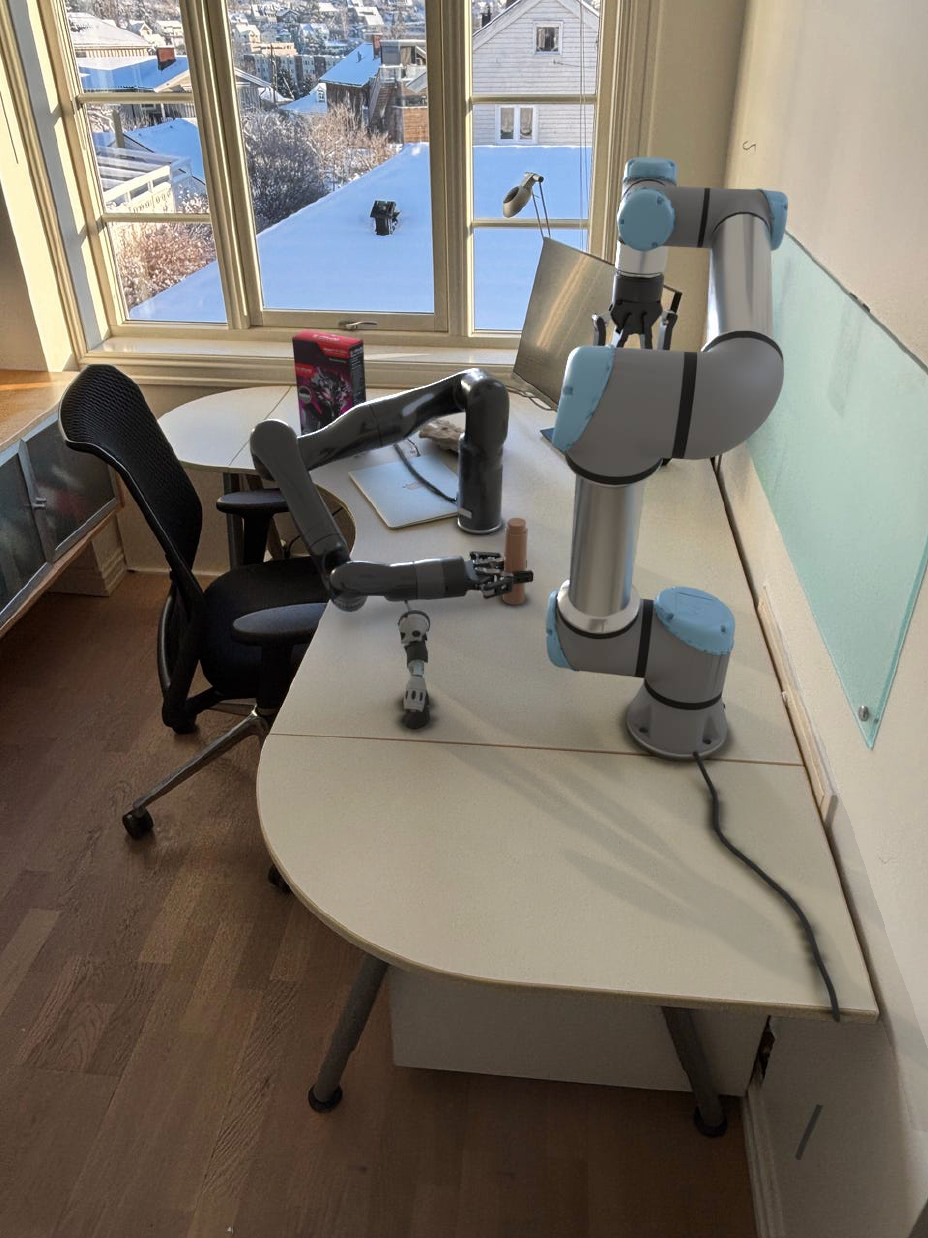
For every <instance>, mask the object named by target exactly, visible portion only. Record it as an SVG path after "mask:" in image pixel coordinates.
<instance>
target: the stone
mask: <svg viewBox="0 0 928 1238" xmlns="http://www.w3.org/2000/svg"><path fill="white" fill-rule="evenodd" d="M464 432H465V429H463V428H462V427H459V426H456V425H455V424H454V423H451V422H450V421H449V420H443V419H440V418H439V419H436V420H434V421H432V422H430V423H429V424H427V425H426V426H424V427H423V428H422V429H421V430H419V431H418V437H419V439H430V440H431V441H432V443H433V444H436V445H438V446H439V447H440V449H443V450H446V451H448V450H451V451H453V452H456V453H458V454H459V438H460V436H461V435H462V434H463V433H464Z"/></svg>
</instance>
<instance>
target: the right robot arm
mask: <svg viewBox="0 0 928 1238" xmlns="http://www.w3.org/2000/svg"><path fill="white" fill-rule="evenodd" d="M677 175H678V165H677V162H675V161H674V160H673V159H670V158H665V157H657V156H656V157H654V156H640V157H633V158H631V159H629V160H628V161H626V163H625V166H624V174H623V179H622V192H621V198H620V203H619V205H618V208H617V215H616V226H617V229H618V236H617V245H616V256H615V265H614V266H615V269H616V270H617V271H616V272H615V273H614V274H613V275H614V276H613V287H612V297H611V298H612V300H611V303H610V305H609V306H608V309H607V310H606V311H604V312H602V313H599V314H598V313H596V312H595V313H593V314H592V315H591V321H592V325H593V339H592V340H593V341H592V345H581V346H578V347H576V348H574V349H573V350H571V352H570V354H569V355H568V358H567V362H566V365H565V371H564V376H563V380H562V385H561V391H560V397H559V401H558V406H557V411H556V417H555V421H554V426H553V432H552V438H551V446H552V447H553V448H554V449H558V450H559V451H562V452H563V453H564V454H563V455H564V458H565V462H566V464H567V466H568V468H569V469H570V470H571V471H572V472H573V474H575V481H574V496H573V497H574V500H573V515H572V530H571V531H572V532H571V547H570V564H569V578H568V579H566V580H565V581H564V582H563V584H562V585H561V586H560V589H555V590H553V591H551V593H550V596H549V598H548V601H547V606H546V615H545V629H546V630H545V632H546V633H545V645H546V652H547V656H548V659H549V661H550V663H551V664H552V665H553V666H554V667H557V668H560V669H566V670H570V671H573V672H577V673H578V672H583V673H585V672H586V673H593V674H595V673H596V674H603V675H612V676H613V675H614V676H621V677H629V678H638V679H643V682H642V684H641V685H640V688H639V689H638V691H637V692H636V694H635V695H634V697H633V699H632V701H631V702H630V704H629V706H628V708H627V711H626V719H625V728H626V732H627V734H628V736H629V738H630V739H631V741H632V742H634V744H636V745H637V746H638V747H639V748H640V749H641V750H643V751H645V752H646V753H648V754H650V755H651V756H654V757H656V758H659V759H662V760H666V761H670V762H675V763H694V762H696V763H697V766H698V768H699V770H700V773H701V775H702V777H703V779H704V781H705V783H706V785H707V787H708V789H709V792H710V794H711V797H712V798H711V799H712V826H713V829H714V831H715V834H716V835H717V838H718V839H719V840H720V841H721V843H722V844H723V845H724V846H725V848H726V849H728V851H730V852H731V853H732V854H733V855H734V856H736V857H737V858H739V860H741V861H742V862H743V863H744V864H745V865H747V866H748V867H749V868H750V869H751V870H752V871H753V872H754V873H756V875H758V877H760V878H761V879H762V880H763V881H764V882H766V883H767V885H768V886H770V887H771V888H772V889H773V890H775V892H777V893H778V894H779V895H780V897H782V898H783V899H784V900H785V901H786V902H787V903H788V904H789V905H790V907H791V908H792V909H793V912H795V913H796V915H797V917H798V918H799V920H800V921H801V923H802V926H803V927H804V930H805V933H806V935H807V939H808V942H809V945H810V948H811V951H812V955H813V958H814V960H815V962H816V966H817V969H818V970H819V972H820V974H821V977H822V979H823V982H824V984H825V986H826V990H827V992H828V996H829V1000H830V1004H831V1005H830V1006H831V1011H832V1018H833V1020H834V1022H836V1023H840V1022H841V1013H840V1006H839V1001H838V997H837V993H836V989H835V987H834V984H833V981H832V979H831V977H830V975H829V972H828V971H827V968H826V966H825V963H824V962H823V959H822V956H821V954H820V951H819V948H818V943H817V940H816V938H815V934H814V932H813V929H812V926H811V925H810V923H809V921H808V918H807V916H806V914H805V913H804V911H803V910H802V908H801V907H800V906H799V905H798V904H797V902H796V901H795V900H794V899H793V897H792V896H790V894H789V893H788V892H787V891H786V890H785V889H783V888H782V886H781V885H779V884H778V883H777V882H776V881H774V880H773V879H772V878H771V877H770V876H769V875H768V874H767V873H766V872H765V871H763V870H762V869H761V868H760V867H759V866H758V865H757V864H756V863H755V862H753V861H752V860H751V859H750V858H749V857H747V856H746V855H745V854H744V853H743V852H741V851H740V850H739V849H737V848H736V847H735V846H734V845H733V844H732V843H731V842H730V841H729V840H728V839H727V838H726V836H725V835H724V833H723V831H722V830H721V828H720V823H719V812H720V805H719V804H720V803H719V798H718V797H719V796H718V793H717V790H716V788H715V787H714V784H713V782H712V779H711V778H710V776H709V773H708V771H707V769H706V767H705V765H704V763H703V760H706V759H709V758H711V757H714V755H716V754H718V752H720V751H721V750H722V748H723V747H724V744H725V743H726V740H727V739H726V738H727V733H728V721H727V716H726V712H725V710H726V709H727V708H726V704H725V703H724V701H723V692H724V686H725V682H726V678H727V677H726V676H727V672H728V668H729V663H730V658H731V654H732V651H733V649H734V646H735V631H736V620H735V617H734V614H733V612H732V610H731V609H730V607H729V606H728V605H727V604H726V603H724V602H723V601H722V600H720V599H719V598H718V597H717V596H715V595H713V594H711V593H709V592H707V591H704V590H702V589H698V588H695V587H690V586H689V587H688V586H677V585H676V586H671V587H669V588H668V587H667V588H664V589H662V590H661V591H659V592H658V593H657V595H656V597H655V598H654V599H651V598H650V599H649V598H640V594H639V591H638V590H637V588H636V586H635V585H634V584H633V578H634V571H635V563H636V558H637V550H638V543H639V537H640V528H641V522H642V516H643V515H642V513H643V507H644V499H645V493H646V485H647V480H649V479H650V478H651V477H653V476H654V475H655V474H656V473H657V472H658V471H659V470H660V467H661V466H662V464H663V459H674V460H675V459H676V460H687V461H699V460H707V459H712V458H714V457H718V456H721V455H723V454H725V453H727V452H730V451H731V450H733V449H736V448H737V447H738V446H740V445H742V444H743V443H744V442H746V441H747V440H748V439H749V438H751V436H752V435H753V434H754V433H755V432H757V431H758V430H759V429H760V428H761V426H762V425H764V423H765V422H766V421H767V419H768V418H769V416H770V415H771V413H772V411H773V410H774V408H775V406H776V405H777V403H778V400H779V398H780V395H781V392H782V389H783V385H784V380H785V379H784V378H785V367H784V364H785V363H784V362H785V361H784V353H783V351H782V348H781V347H780V345H779V342H777V341H776V339H774V312H773V311H774V310H773V308H774V307H773V276H772V252H774V251H777V250H778V249H779V248H780V246H781V245H782V242H783V239H784V236H785V232H786V227H787V220H788V210H789V209H788V208H789V199H788V196H787V194H785V192H782V191H778V190H767V189H763V188H760V187H759V188H754V189H753V188H724V187H723V188H722V187H721V188H720V187H701V186H700V187H699V186H697V187H696V186H695V187H694V186H678V181H677V177H678V176H677ZM669 247H674V248H696V249H710V250H709V252H710V253H709V273H708V274H709V275H708V298H707V300H708V301H707V321H706V323H707V324H706V326H707V327H706V344H705V345H704V346H703V347H702V348H701V350H700V351H685V350H671V344H672V336H673V331H674V330H673V329H674V328H675V325H676V323H677V320H678V319H679V315H678V314H677V313H676V312H674V311H673V310H672V309H664V307H663V305H662V298H663V292H664V283H665V275H664V273H663V272H664V271H666V269H667V259H668V251H669ZM658 319H659V323H660V324H659V329H658V337H657V345H656V349H654V346H653V337H654V335H653V326H654V325H655V324H656V322H658ZM610 320H611V321H612V322H613V324H614V325H615V326H614V329H613V333H612V338H611V343H607V342H606V341H607V328H608V327H609V323H610ZM635 334H636V335H638V338H639V347H640V348H635V347H625V344H626V342H628V340H629V337H630V336H632V335H635ZM606 343H607V344H606ZM823 1108H824V1105H821V1104H817V1103H816V1104H815V1106H814V1109H813V1111H812V1114H811V1116H810V1118H809V1121H808V1123H807V1125H806V1128H805V1130H804V1132H803V1135H802V1136H801V1140H800V1142H799V1145H798V1147H797V1150H796V1153H795V1155H794V1156H795V1159H796V1160H797V1161H801V1160H802V1159H803V1155H804V1153H805V1150H806V1147H807V1145H808V1142H809V1140H810V1138H811V1136H812V1134H813V1131H814V1129H815V1126H816V1124H817V1122H818V1120H819V1118H820V1115H821V1113H822V1111H823Z"/></svg>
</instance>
